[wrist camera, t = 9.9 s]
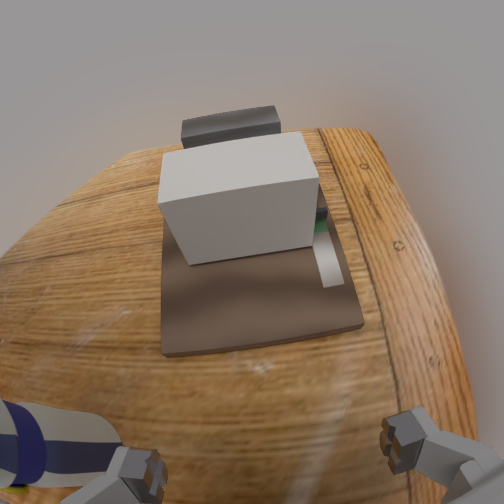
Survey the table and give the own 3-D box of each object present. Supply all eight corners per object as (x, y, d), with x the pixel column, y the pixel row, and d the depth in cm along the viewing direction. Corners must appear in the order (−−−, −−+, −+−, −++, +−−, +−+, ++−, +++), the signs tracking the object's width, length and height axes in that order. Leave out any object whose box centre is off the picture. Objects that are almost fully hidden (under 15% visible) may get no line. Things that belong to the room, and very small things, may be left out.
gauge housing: (333, 242, 29) (347, 174, 21) (188, 265, 29) (157, 203, 22) (312, 181, 34) (316, 114, 26) (188, 200, 34) (165, 137, 26)
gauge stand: (360, 328, 26) (392, 281, 18) (167, 357, 26) (118, 323, 18) (308, 164, 38) (309, 102, 30) (170, 186, 38) (148, 128, 30)
